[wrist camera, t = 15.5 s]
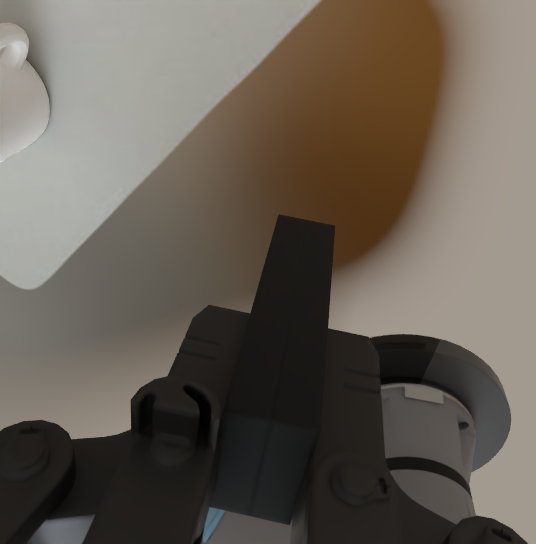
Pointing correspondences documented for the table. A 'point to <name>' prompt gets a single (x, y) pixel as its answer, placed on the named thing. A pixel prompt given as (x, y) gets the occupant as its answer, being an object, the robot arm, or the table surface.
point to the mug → (19, 94)
